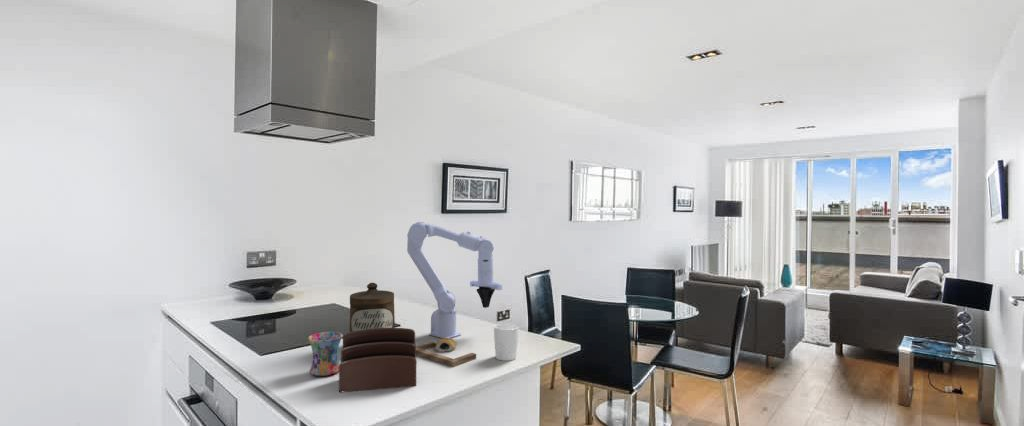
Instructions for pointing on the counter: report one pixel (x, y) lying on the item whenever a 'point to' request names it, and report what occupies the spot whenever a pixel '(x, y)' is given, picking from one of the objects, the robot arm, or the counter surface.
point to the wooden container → (372, 309)
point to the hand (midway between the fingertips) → (486, 307)
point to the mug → (325, 353)
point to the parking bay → (439, 358)
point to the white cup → (506, 341)
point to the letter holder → (377, 359)
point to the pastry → (445, 345)
